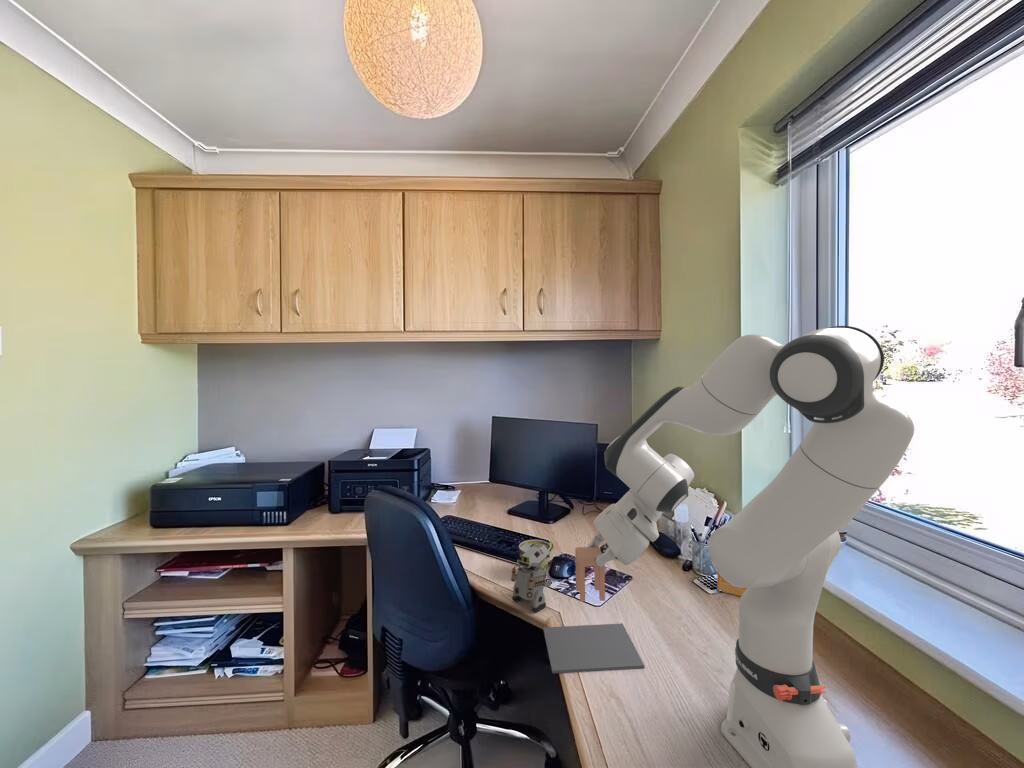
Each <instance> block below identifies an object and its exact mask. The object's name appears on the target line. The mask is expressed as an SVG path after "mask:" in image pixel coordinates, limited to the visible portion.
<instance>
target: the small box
mask: <svg viewBox="0 0 1024 768" xmlns="http://www.w3.org/2000/svg"><path fill="white" fill-rule="evenodd" d="M716 582H717V584H716V586H717V590H721V591H722V592H721V593H725V594H730V595H735V596H739V597H741V596H742V594H743V593H744V592H745V590H746V589H747V588H740V587H736V586H734V585H732V584H730V583H728V582H727V581H726V580H724V579H723V578H722V577H721V576H720V575H719V573H718V572H717V581H716ZM717 590H716V591H717Z"/></svg>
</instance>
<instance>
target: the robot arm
mask: <svg viewBox="0 0 1024 768" xmlns="http://www.w3.org/2000/svg"><path fill="white" fill-rule="evenodd" d="M884 355H885V353H884V351H883V347H882V346H881V344H880V342H879V341H878V340H877V338H876V337H874V336H873V335H872V334H871V333H870V332H868V331H866V330H864V329H860V328H858V327H857V326H856V327H854V326H851V325H850V326H849V325H836V326H831V327H830V326H829V327H825V328H824V327H823V328H819V329H816V330H815V329H814V330H812V331H810V332H807V333H805V334H803V335H801V336H800V337H797V338H795V339H791V341H789V342H787V343H786V344H782V343H779V342H778V341H775V340H774V339H772V338H770V337H768V336H764V335H759V334H746V335H742V336H740V337H738V338H736V339H735V340H734V341H733V342H732V343H731V344H729V345H728V346H727V347H726V348H725V349H724V350H723V351H722V352H721V353H720V354H719V355H718V356H717V358H715V359H714V361H713V362H712V363H711V364H710V365H709V366H708V368H707V369H706V371H704V373H703V375H702V376H701V377H700V378H699V380H697V381H695V383H693V384H692V385H690V386H688V387H683V386H675V387H674V388H672V389H669V391H667V392H665V393H664V394H663V395H662V396H661V397H660V398H659V399H657V400H656V401H654V403H653V404H652V405H651V406H650V407H649V408H648V409H647V410H646V411H645V412H644V413H642V414H641V415H640V417H638V418H637V420H636V421H634V422H633V423H632V424H631V425H630V426H629V428H627V429H626V430H625V431H624V432H623V433H621V434H620V435H619V436H618V437H616V438H614V439H613V440H612V441H611V442H610V443H609V445H607V448H606V449H605V451H604V453H603V455H604V465H605V469H606V470H608V471H609V472H611V474H613V475H614V476H615V477H616V478H618V479H619V480H620V481H622V483H624V484H625V485H626V486H627V487H628V488H629V489H628V491H627V492H626V493H625V494H624V495H623V496H622V497H621V498H620V499H619V500H618V501H617V502H616V503H612V504H610V505H608V506H607V507H606V508H604V509H603V510H602V511H601V512H600V513H599V514H598V515H597V516H596V517H595V518H594V521H593V522H592V523H593V525H594V527H595V529H597V532H595V533H594V535H593V537H592V540H591V541H590V543H589V544H588V545H587V547H600V545H601V543H603V542H605V544H606V543H607V545H608V546H609V547H608V548H607V549H606V552H605V553H603V554H602V555H600V554H599V555H598V556H597V557H596V558H595V562H596V564H597V565H598V566H599V567H602V566H603V565H604V564H606V563H609V562H611V561H613V560H615V559H616V557H617V558H618V559H617V560H618V561H620V562H621V563H622V564H623V565H624V566H627V565H631V564H632V563H633V562H634V561H636V560H637V559H638V558H639V556H641V554H643V553H644V552H645V550H646V549H647V548H648V547H649V545H650V542H652V543H653V542H655V541H657V539H658V538H659V536H660V534H659V531H658V523H657V522H658V520H660V519H661V517H662V515H663V513H673V512H674V511H675V510H676V509H677V507H678V506H679V505H681V503H683V502H684V501H685V499H687V498H688V497H689V488H688V487H689V486H690V484H691V483H692V481H693V480H694V478H695V473H694V471H693V469H692V467H691V466H690V464H688V462H686V461H685V460H684V459H683V458H681V457H680V456H679V455H676V454H673V453H668V454H666V455H665V456H664V457H662V456H661V455H660V454H659V453H658V452H657V451H656V450H654V449H653V448H652V447H651V446H650V445H649V444H648V441H647V439H648V438H649V437H650V436H652V434H654V433H655V432H656V431H657V430H658V429H659V428H660V427H661V426H663V425H664V424H666V423H669V424H675V425H678V426H682V427H685V428H688V429H690V430H692V431H695V432H697V433H700V434H705V435H709V436H716V437H717V436H718V437H720V436H721V437H722V436H725V437H726V436H731V435H734V434H737V433H740V432H741V431H742V430H743V429H745V428H746V427H747V426H748V425H749V424H751V422H752V421H754V420H755V419H756V417H757V416H758V415H759V414H760V413H761V412H762V411H763V409H764V408H765V407H766V406H767V404H769V403H770V401H772V399H774V398H775V397H776V396H778V397H780V399H781V400H783V401H784V402H785V403H786V404H787V405H789V406H791V407H793V408H794V409H796V410H797V411H798V412H799V414H802V416H803V417H805V418H806V419H807V420H808V421H810V422H812V423H813V424H812V426H811V427H810V429H809V431H807V433H806V435H805V436H804V438H803V439H802V440H801V442H800V443H799V444H798V446H797V447H796V449H795V450H794V452H792V454H791V456H790V457H789V459H788V460H787V462H786V463H784V466H782V468H781V470H780V471H779V472H778V474H777V475H776V476H775V477H774V478H773V479H772V480H771V481H770V482H769V483H768V485H767V486H765V487H764V488H763V489H762V490H761V491H760V492H758V494H756V496H754V497H753V498H752V499H751V500H750V501H749V502H747V504H745V506H744V507H743V508H742V509H741V510H740V511H739V512H737V513H736V514H735V515H734V516H733V517H732V518H731V519H729V520H728V521H727V522H725V523H724V524H723V525H721V526H720V527H718V528H717V529H715V530H714V531H713V532H712V533H711V535H710V536H709V539H708V547H707V549H708V554H709V559H710V561H711V564H712V566H713V568H714V570H715V571H716V572H717V573H719V575H720V576H721V577H722V578H723V579H724V580H726V581H727V582H728V583H730V584H732V585H734V586H736V587H740V588H747V589H746V590H745V592H744V593H743V594H742V596H740V600H739V602H738V638H737V640H736V642H735V643H736V644H735V649H734V656H735V664H736V671H735V674H734V676H733V678H732V680H731V683H730V686H729V690H728V692H729V693H728V702H727V709H726V710H727V711H726V718H724V719H723V721H722V722H721V726H720V732H721V734H722V735H723V736H724V738H725V739H726V740H727V741H728V743H730V744H731V746H732V747H733V748H734V749H735V750H736V752H737V753H738V754H739V755H740V756H741V757H742V758H743V759H744V761H745V762H746V763H747V764H748V765H749V766H750V767H751V768H858V765H857V760H856V759H857V758H856V754H855V753H854V752H855V751H854V750H853V748H852V746H851V744H850V742H851V734H850V731H849V729H848V727H847V726H846V725H845V724H843V723H838V722H837V720H836V718H835V716H834V715H833V712H832V711H831V709H830V707H829V703H828V701H827V700H826V699H824V697H823V695H822V694H824V693H826V690H823V689H825V688H826V685H825V684H820V680H819V674H818V670H817V668H816V665H815V662H814V660H813V651H814V650H813V649H814V648H813V644H814V643H813V642H814V641H813V640H814V639H813V638H814V623H815V615H816V611H817V607H818V605H819V601H820V598H821V594H822V590H823V587H824V584H825V580H826V578H827V574H828V572H829V569H830V567H831V566H832V563H833V561H834V560H835V559H836V557H837V556H838V555H839V553H840V551H841V546H842V540H841V536H840V532H839V531H840V530H841V529H842V528H844V527H845V526H847V525H848V524H849V523H850V522H851V521H852V520H853V518H855V516H857V514H858V513H859V511H860V510H861V509H862V508H863V507H865V505H866V504H867V502H869V500H870V499H871V498H872V497H873V496H874V495H875V494H876V492H877V491H878V490H879V489H880V488H881V487H882V485H884V483H885V482H886V481H887V479H888V478H889V477H890V476H891V474H892V473H893V472H894V471H895V469H896V467H897V466H898V465H899V463H900V461H901V460H902V458H903V456H904V454H905V452H907V449H908V447H909V445H910V443H911V441H912V439H913V437H914V434H915V425H914V422H913V420H912V418H911V417H910V415H909V414H908V413H907V412H906V411H905V410H904V409H903V408H902V407H900V406H899V405H897V404H896V403H894V402H893V401H891V400H888V399H886V398H884V397H882V396H881V395H880V394H879V393H878V392H877V391H876V389H875V386H874V381H875V380H877V378H878V377H879V375H880V374H881V372H882V370H883V368H884V363H885V356H884Z"/></svg>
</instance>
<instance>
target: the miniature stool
mask: <svg viewBox="0 0 1024 768" xmlns="http://www.w3.org/2000/svg"><path fill="white" fill-rule="evenodd" d="M574 550H575V553H574V554H575V555H574V556H575V557H574V558H575V590H576V591H575V592H579V600H580V603H581V602H582V603H583V602H586V567H594V568H593V569H594V571H593V573H594V577H593V578H594V579H593V580H594V581H593V583H594V590H595V591H599V593H598V595H599V600H600V602H603V601H604V602H605V601H606V585H605V584H606V575H605V574H606V573H605V572H606V571H605V570H606V567H605V564H606V563H605V564H604V565H603V566H602V567H599V566H598V565H597V564H596V562H595V558H596V557H597V556H598V555H599V554H600V555H602V552H601V550H600V546H598V547H588V546H584V547H583V546H582V547H577V546H576V547H575V549H574Z"/></svg>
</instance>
